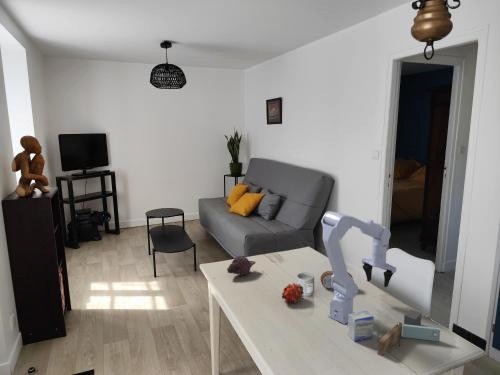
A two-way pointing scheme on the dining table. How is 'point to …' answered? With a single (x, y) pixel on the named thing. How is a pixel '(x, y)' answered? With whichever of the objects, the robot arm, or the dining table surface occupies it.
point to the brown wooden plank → (389, 339)
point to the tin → (328, 279)
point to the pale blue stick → (421, 332)
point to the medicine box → (360, 325)
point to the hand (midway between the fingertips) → (377, 283)
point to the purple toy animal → (240, 265)
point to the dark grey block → (412, 318)
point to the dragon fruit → (292, 293)
